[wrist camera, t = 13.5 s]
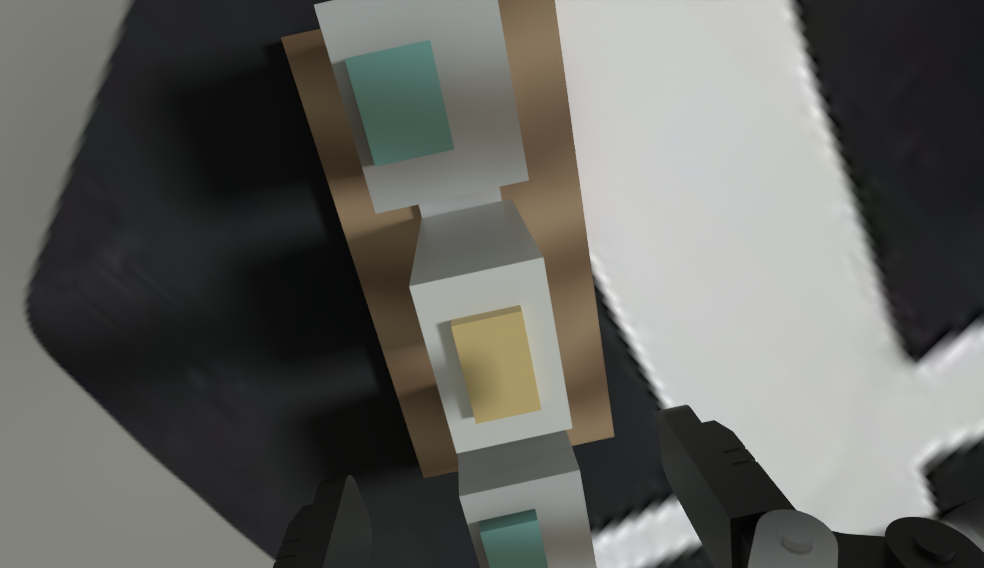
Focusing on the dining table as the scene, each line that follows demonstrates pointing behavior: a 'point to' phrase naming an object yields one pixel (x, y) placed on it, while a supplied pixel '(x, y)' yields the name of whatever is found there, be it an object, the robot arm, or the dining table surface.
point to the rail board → (455, 186)
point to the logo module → (489, 326)
